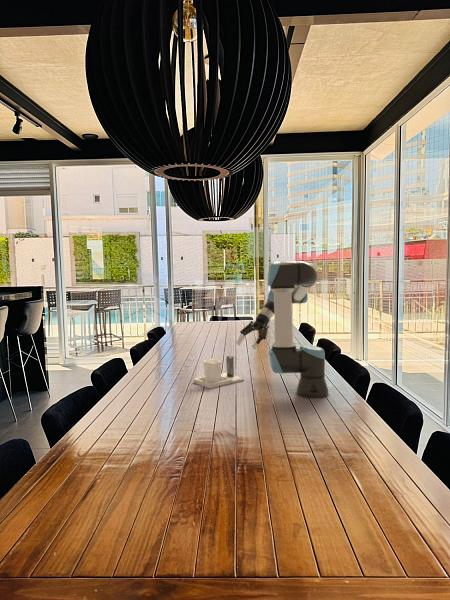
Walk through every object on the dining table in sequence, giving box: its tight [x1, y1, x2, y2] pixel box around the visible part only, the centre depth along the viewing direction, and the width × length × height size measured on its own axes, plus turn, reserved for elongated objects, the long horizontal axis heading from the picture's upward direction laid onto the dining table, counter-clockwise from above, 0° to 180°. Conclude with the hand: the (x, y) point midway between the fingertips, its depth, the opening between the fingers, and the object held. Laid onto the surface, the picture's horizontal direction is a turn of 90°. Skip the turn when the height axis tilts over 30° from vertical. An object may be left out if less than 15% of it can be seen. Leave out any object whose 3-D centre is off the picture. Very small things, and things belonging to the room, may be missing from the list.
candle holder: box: [203, 358, 223, 384], centre depth 232 cm, size 10×10×12 cm
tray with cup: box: [193, 355, 245, 389], centre depth 234 cm, size 16×22×12 cm
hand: (245, 346), depth 245 cm, fingers open, 13 cm apart
